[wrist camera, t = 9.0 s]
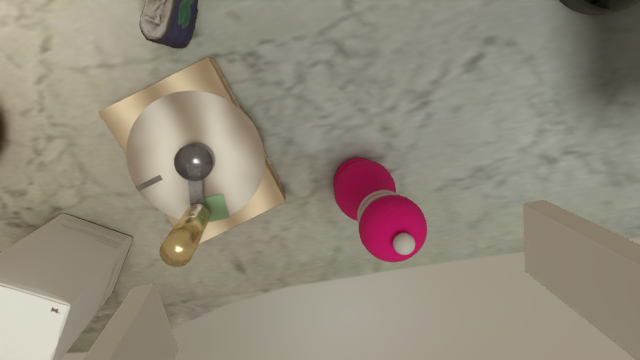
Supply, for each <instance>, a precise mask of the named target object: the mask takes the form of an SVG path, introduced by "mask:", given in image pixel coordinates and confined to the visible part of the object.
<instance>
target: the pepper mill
mask: <svg viewBox="0 0 640 360" xmlns="http://www.w3.org/2000/svg"><path fill="white" fill-rule="evenodd" d="M334 187H335V188H334V192H335V199H336V202H337V204H338V206H339V207H340V209H341V210H342V211H343V212H344V213H345V214H346V215H347V216H348V217H350V218H352V219H354V220H357V221H358V223H359V234H360V238H361V241H362V243H363V245H364V246H365V247H366V249H367V250H368V251H369V252H370V253H371V254H372V255H374V256H375V257H377V258H378V259H381V260H383V261H388V262H399V261H404V260H406V259H409V258H410V257H412V256H413V255H414V254H416V253H417V252H418V251H419V250H420V248H421V247H422V245H423V244H424V242H425V239H426V235H427V225H426V220H425V217H424V215H423V213H422V211H421V209H420V208H419V207H418V206H417V205H416V204H415V203H414V202H413V201H411V200H409V199H408V198H406V197H403V196H400V195H398V194H396V188H395V183H394V180H393V178H392V176H391V175H390V173H389V172H388V171H387V169H385V168H384V167H383V166H382V165H380V164H378V163H376V162H372V161H370V160H367V159H364V158H353V159H350V160H348V161H346V162H345V163H343V164H342V165H341V166H340V167H339V168H338V170H337V172H336V174H335V177H334Z"/></svg>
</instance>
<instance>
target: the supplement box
mask: <svg viewBox="0 0 640 360" xmlns="http://www.w3.org/2000/svg"><path fill="white" fill-rule="evenodd" d="M131 242H132V237H130V236H127V235H125V234H122V233H119V232H116V231H113V230H110V229H107V228H105V227H102V226H99V225H96V224H93V223H90V222H88V221H85V220H82V219H79V218H76V217H73V216H70V215H67V214H64V213H62V214H61V215H59V216H57V217H56V218H54V219H53V220H51V221H50V222H48V223H46V224H45V225H43V226H42V227H40V228H39V229H37V230H35V231H34V232H32V233H31V234H29V235H28V236H26V237H24V238H23V239H21V240H20V241H18V242H17V243H15V244H13V245H12V246H10V247H9V248H7V249H5V250H4V251H2V252H1V253H0V360H61V359H62V357H63V356H64V355H65V353H66V352H67V351H68V349H69V348H70V347H71V345H72V344H73V343H74V342H75V340H76V339H77V338H78V336H79V335H80V334H81V332H82V331H83V330H84V329H85V327H86V326H87V325H88V323H89V322H90V321H91V319H92V318H93V317H94V316H95V314H96V313H97V312H98V310H99V309H100V308H101V306H102V305H103V304H104V303H105V301H106V300H107V299H108V297H109V296H110V295H111V293H112V292H113V289H114V287H115V284H116V282H117V279H118V276H119V274H120V271H121V268H122V266H123V263H124V260H125V258H126V255H127V252H128V250H129V247H130V244H131Z"/></svg>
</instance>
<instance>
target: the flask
mask: <svg viewBox="0 0 640 360" xmlns="http://www.w3.org/2000/svg"><path fill="white" fill-rule="evenodd" d="M197 3H198V0H146V1H145V6H144V9H143V12H142V14H141V17H140V24H139V25H140V29H141V32H142V34H143V35H144V36H145V38H146V40H149V41H152V42H155V43H158V44H164V45H166V46H170V47H173V48H185V47H186V46H187V45H188V44H189V42H190V40H191V38H192V35H193V31H194V28H195V23H196V19H197V11H198V10H197Z"/></svg>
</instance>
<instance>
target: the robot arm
mask: <svg viewBox="0 0 640 360" xmlns="http://www.w3.org/2000/svg"><path fill="white" fill-rule="evenodd" d="M561 1H562V2H563V3H564V4H565V5H566V6H568V7H569V8H571V9H573V10H575V11H577V12H580V13H584V14H603V13H608V12H613V11H618V10H622V9H625V8H627V7H630V6H632V5H634V4H636V3H638V2H640V0H561ZM523 213H524V247H525V272H526V273H528V274H529V275H530V276H531V277H533V278H534V279H535V280H537V281H538V282H539V283H540V284H541V285H543V286H544V287H545V288H547V289H548V290H549V291H550V292H551V293H553V294H554V295H555V296H557V297H558V298H559V299H560V300H562V301H563V302H564V303H565V304H567V305H568V306H569V307H570V308H572V309H573V310H574V311H575V312H577V313H578V314H579V315H580V316H582V317H583V318H584V319H585V320H587V321H588V322H589V323H590V324H592V325H593V326H594V327H596V328H597V329H598V330H599V331H600V332H602V333H603V334H604V335H605V336H607V337H608V338H609V339H611V340H612V341H613V342H614V343H616V344H617V345H618V346H619V347H621V348H622V349H623V350H624V351H626V352H627V353H628V354H629V355H631V356H632V357H633V358H634V359H636V360H640V245H639V244H637V243H635V242H633V241H631V240H629V239H627V238H624V237H622V236H620V235H618V234H616V233H614V232H612V231H609V230H607V229H605V228H603V227H601V226H599V225H597V224H595V223H592V222H590V221H588V220H586V219H584V218H582V217H580V216H577V215H575V214H573V213H571V212H569V211H567V210H565V209H562V208H560V207H558V206H556V205H554V204H552V203H550V202H548V201H545V200H540V201H535V202H530V203H526V204H523ZM177 352H178V347H177V344H176V341H175V339H174V336H173V333H172V330H171V327H170V324H169V321H168V318H167V316H166V313H165V310H164V307H163V304H162V301H161V298H160V295H159V293H158V290H157V287H156V284H155V283H153V284H148V285H144V286H139V287H134V288H132V289H131V291H130V292H129V294H128V295H127V297H126V298H125V299H124V301H123V302H122V304H121V305H120V307H119V308H118V310H117V311H116V312H115V314H114V315H113V317H112V318H111V320H110V321H109V323H108V324H107V325H106V327H105V328H104V330H103V331H102V333H101V334H100V336H99V337H98V338H97V340H96V341H95V343H94V344H93V346H92V347H91V349H90V350H89V351H88V353H87V354H86V356H85V357H84V359H83V360H175V357H176V354H177Z"/></svg>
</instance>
